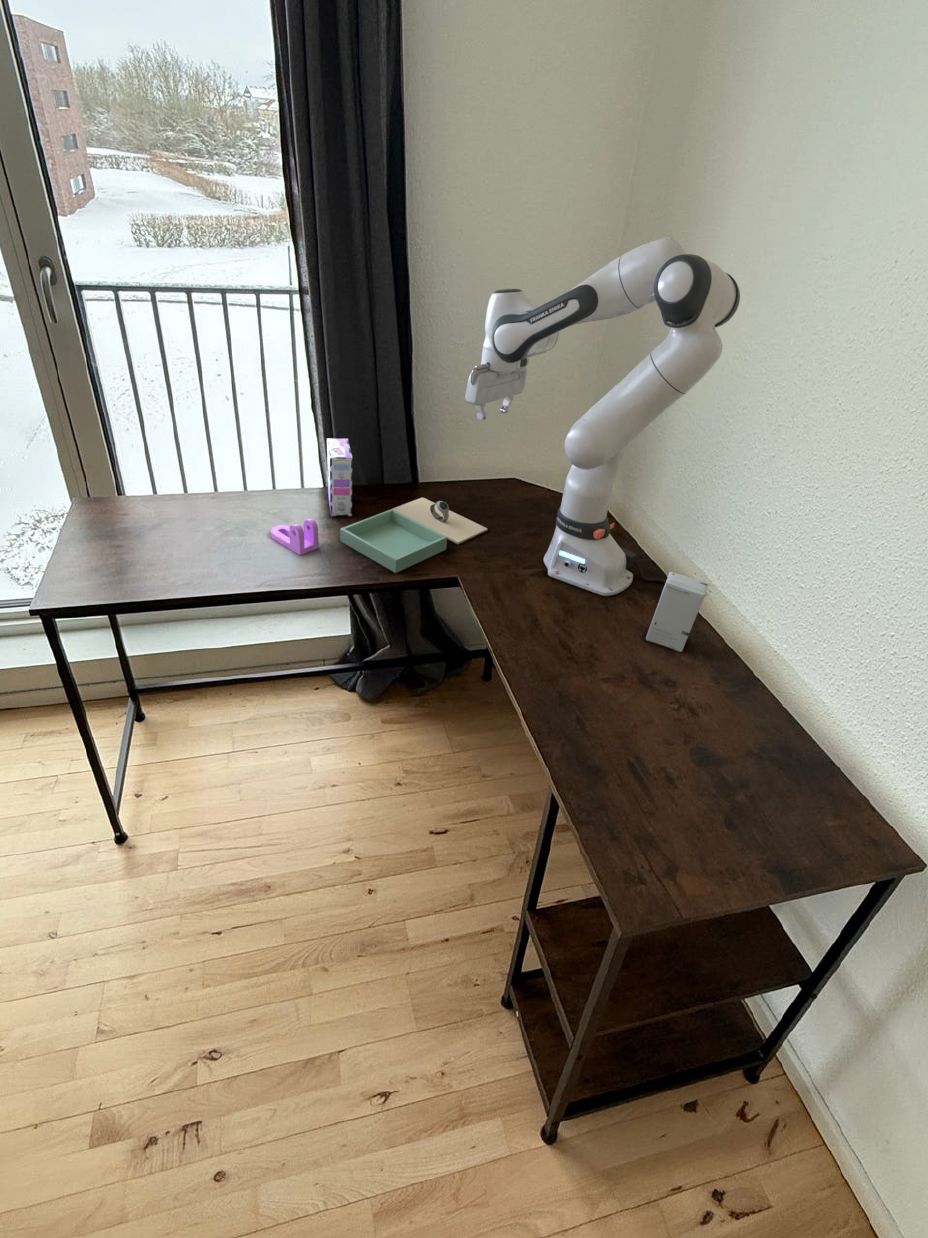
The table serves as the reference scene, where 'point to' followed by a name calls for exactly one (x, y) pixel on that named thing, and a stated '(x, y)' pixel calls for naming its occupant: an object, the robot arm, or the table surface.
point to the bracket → (297, 536)
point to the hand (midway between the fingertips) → (492, 415)
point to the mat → (452, 528)
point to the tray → (393, 540)
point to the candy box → (339, 477)
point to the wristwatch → (441, 507)
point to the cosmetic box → (676, 611)
